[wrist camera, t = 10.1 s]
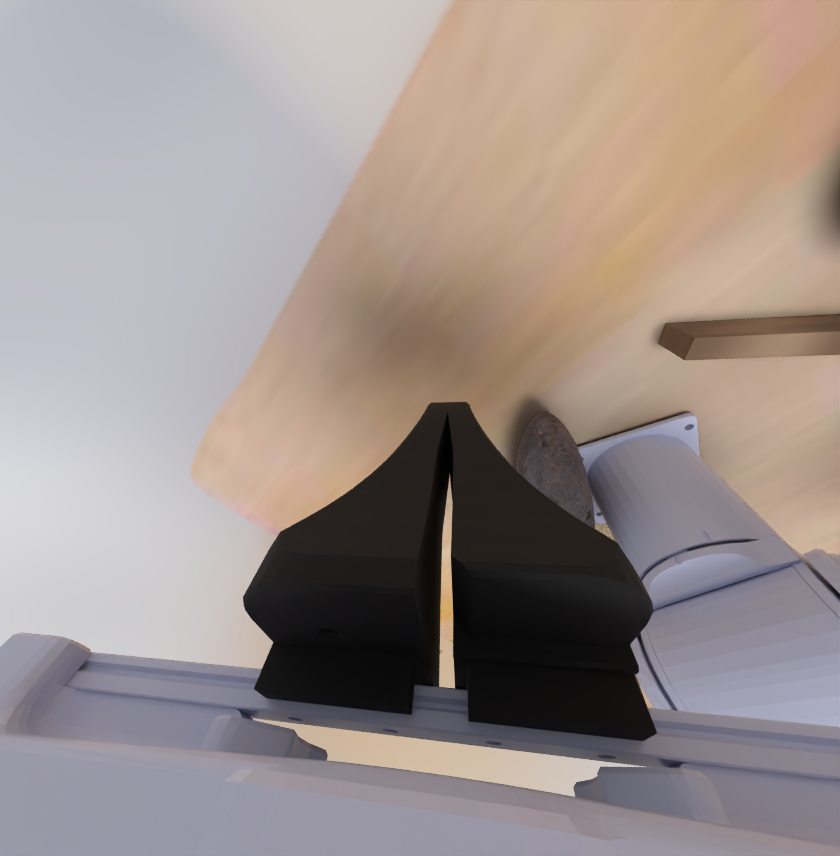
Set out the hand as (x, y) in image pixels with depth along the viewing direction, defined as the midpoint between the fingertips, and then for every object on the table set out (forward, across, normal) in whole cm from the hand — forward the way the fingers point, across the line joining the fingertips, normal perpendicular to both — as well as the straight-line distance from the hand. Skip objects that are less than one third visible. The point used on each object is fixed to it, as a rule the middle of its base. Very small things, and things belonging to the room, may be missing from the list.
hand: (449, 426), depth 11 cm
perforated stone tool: (+10, -7, +12) cm, 17 cm away
